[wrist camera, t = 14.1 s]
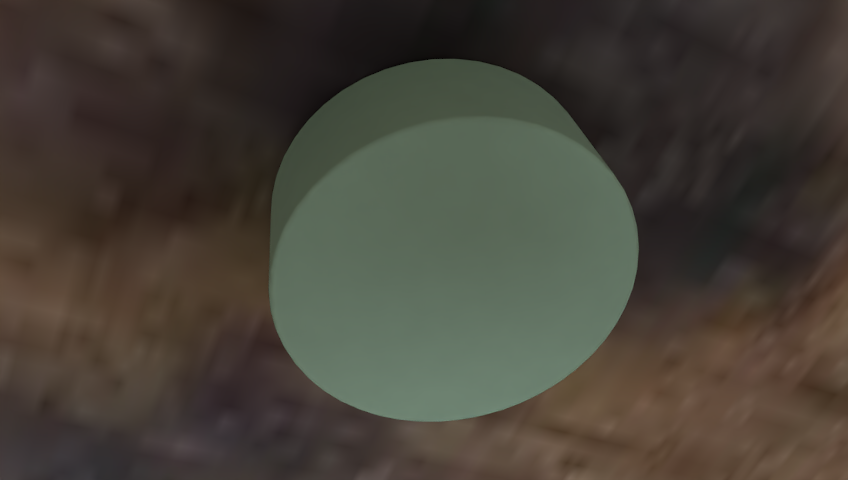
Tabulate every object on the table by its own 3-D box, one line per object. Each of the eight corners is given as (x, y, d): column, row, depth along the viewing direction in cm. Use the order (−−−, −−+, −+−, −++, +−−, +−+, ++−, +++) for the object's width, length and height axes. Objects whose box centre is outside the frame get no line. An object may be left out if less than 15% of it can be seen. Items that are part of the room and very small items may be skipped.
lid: (606, 42, 13) (665, 98, 11) (577, 318, 17) (618, 400, 15) (245, 72, 13) (238, 138, 11) (293, 353, 16) (294, 444, 14)
